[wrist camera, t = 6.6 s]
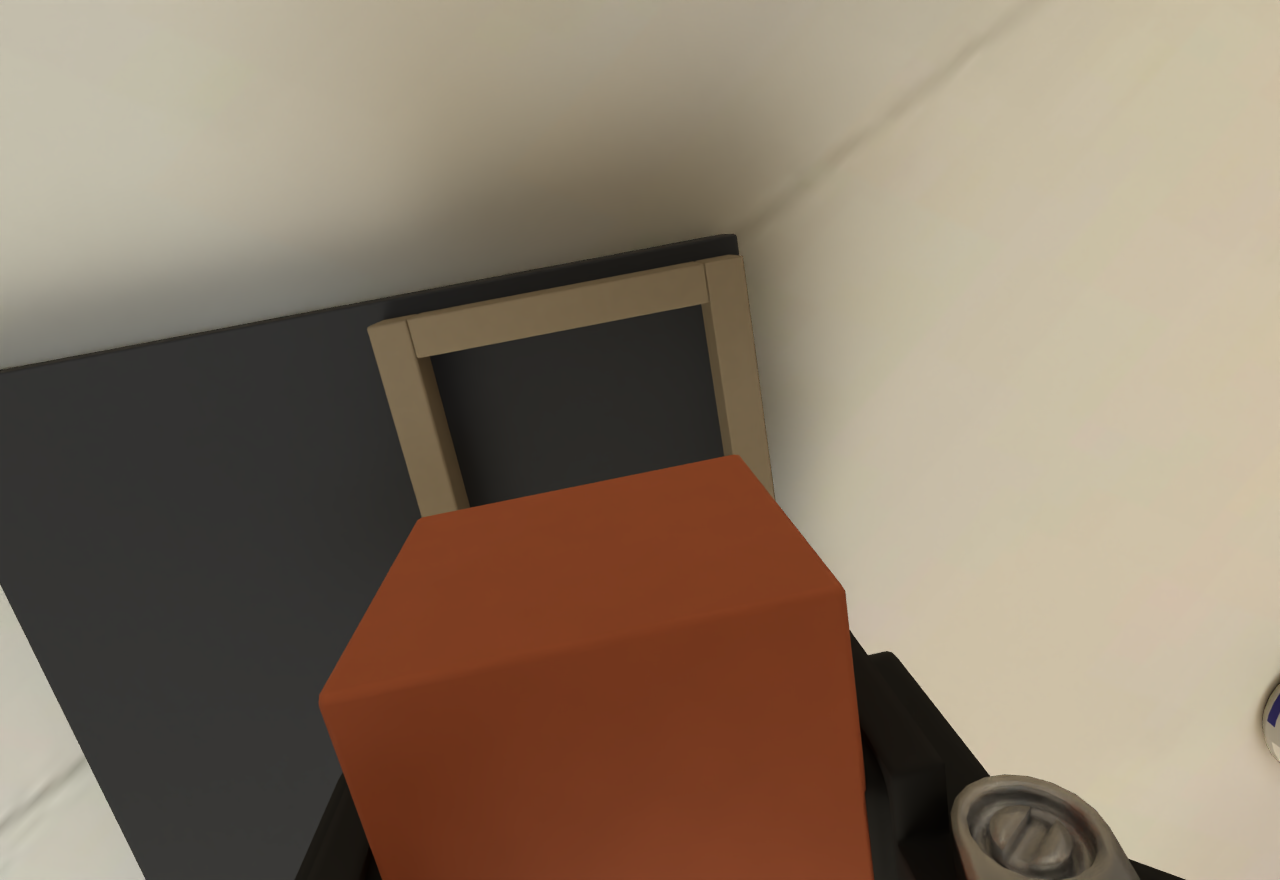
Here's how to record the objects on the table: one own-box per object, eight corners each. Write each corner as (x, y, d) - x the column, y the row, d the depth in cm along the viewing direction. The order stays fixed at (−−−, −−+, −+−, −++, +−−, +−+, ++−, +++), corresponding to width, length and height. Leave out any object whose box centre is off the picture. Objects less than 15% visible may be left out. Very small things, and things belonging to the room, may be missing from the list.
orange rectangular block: (415, 516, 10) (311, 700, 6) (739, 451, 10) (848, 586, 6) (529, 907, 12) (508, 1239, 8) (797, 846, 12) (907, 1142, 8)
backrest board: (-33, 376, 20) (-156, 403, 17) (721, 234, 21) (750, 232, 17) (299, 1091, 29) (262, 1205, 25) (825, 971, 29) (857, 1065, 26)
